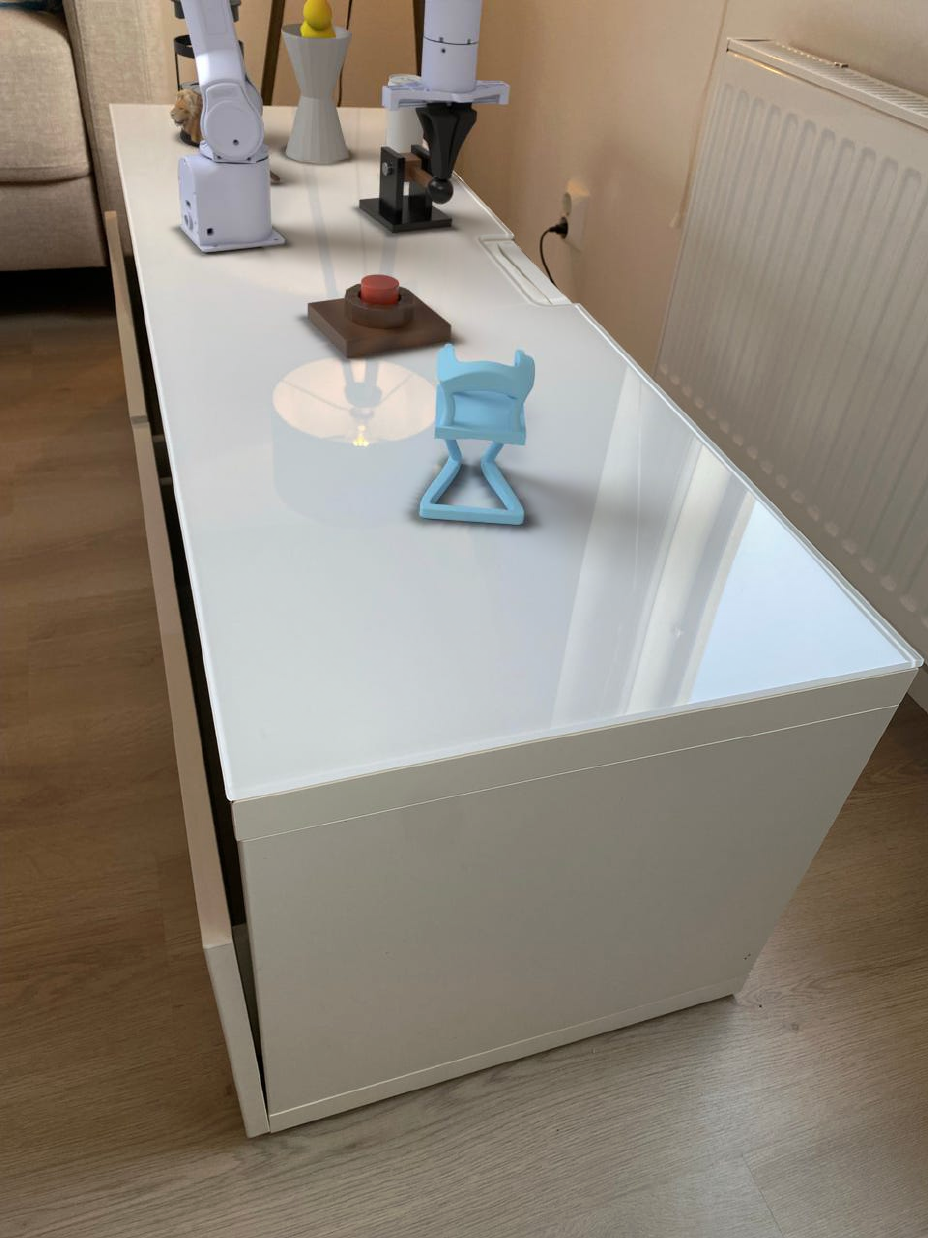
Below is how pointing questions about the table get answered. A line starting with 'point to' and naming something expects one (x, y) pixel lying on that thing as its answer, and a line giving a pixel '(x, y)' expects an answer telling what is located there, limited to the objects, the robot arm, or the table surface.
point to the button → (379, 289)
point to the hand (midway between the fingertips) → (441, 176)
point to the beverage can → (403, 121)
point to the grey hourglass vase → (316, 84)
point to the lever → (427, 180)
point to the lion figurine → (193, 116)
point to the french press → (184, 50)
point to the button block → (377, 323)
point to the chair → (479, 428)
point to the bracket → (403, 196)
